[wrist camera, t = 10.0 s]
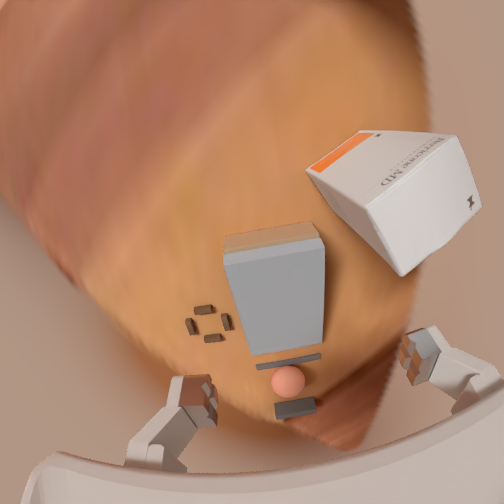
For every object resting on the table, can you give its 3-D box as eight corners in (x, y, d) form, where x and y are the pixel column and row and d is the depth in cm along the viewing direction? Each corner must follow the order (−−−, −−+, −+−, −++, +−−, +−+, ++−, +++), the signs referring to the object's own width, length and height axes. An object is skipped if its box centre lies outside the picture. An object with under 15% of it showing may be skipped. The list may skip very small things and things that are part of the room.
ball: (270, 383, 25) (267, 362, 29) (275, 406, 26) (272, 385, 30) (306, 376, 25) (300, 356, 29) (309, 400, 26) (303, 379, 30)
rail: (274, 403, 32) (275, 415, 30) (313, 396, 31) (316, 408, 30) (275, 407, 32) (276, 419, 30) (313, 400, 32) (316, 412, 30)
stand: (182, 308, 25) (181, 312, 25) (223, 302, 25) (223, 306, 25) (194, 340, 27) (193, 344, 26) (233, 335, 27) (233, 339, 26)
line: (256, 364, 29) (256, 365, 28) (320, 353, 28) (320, 353, 28) (257, 369, 29) (257, 370, 29) (320, 358, 29) (320, 358, 28)
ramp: (225, 236, 23) (221, 258, 19) (310, 221, 23) (324, 239, 19) (251, 347, 28) (253, 378, 24) (319, 335, 27) (329, 364, 23)
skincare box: (359, 128, 20) (460, 131, 9) (385, 171, 21) (486, 208, 10) (301, 170, 21) (363, 208, 10) (330, 212, 22) (403, 282, 11)
